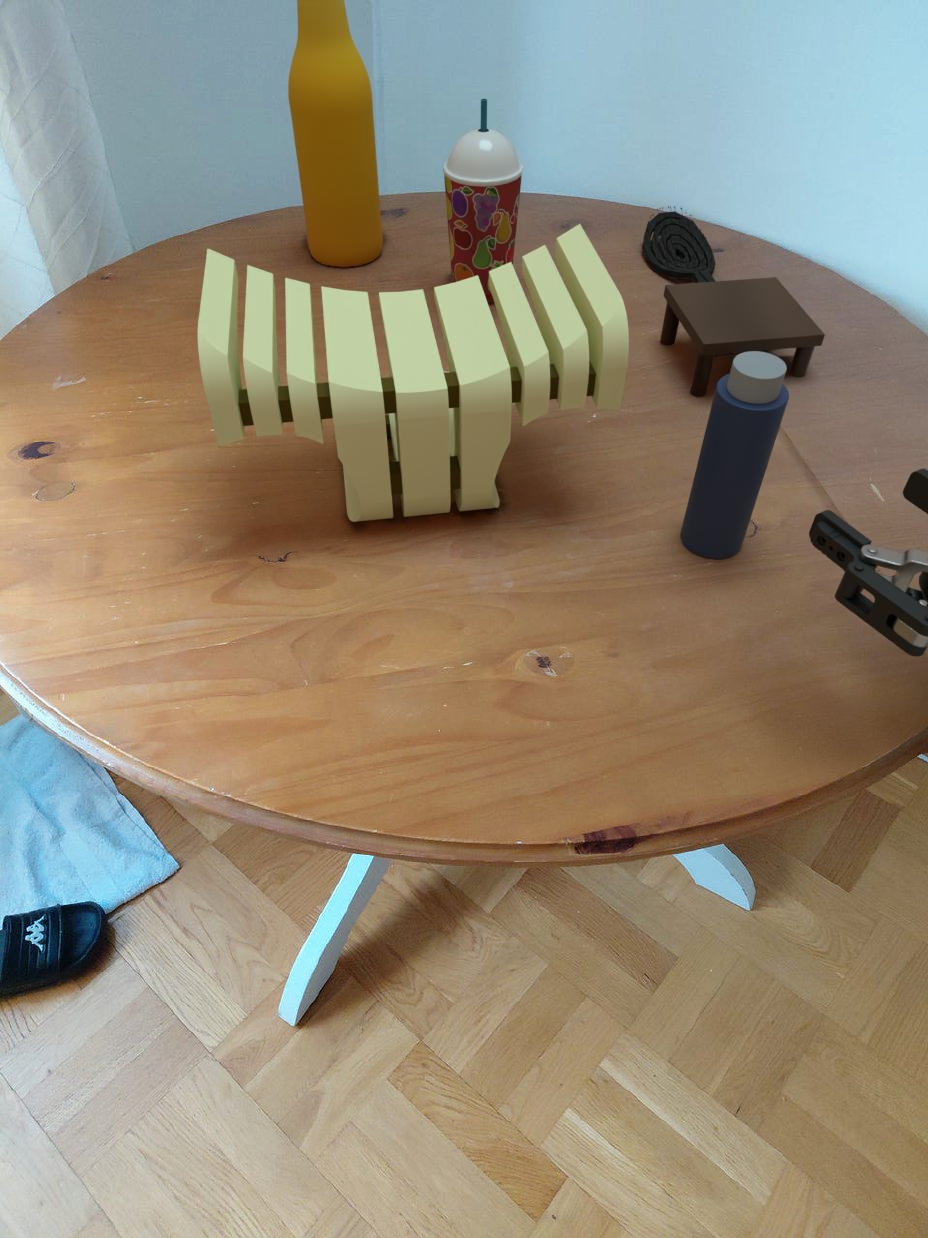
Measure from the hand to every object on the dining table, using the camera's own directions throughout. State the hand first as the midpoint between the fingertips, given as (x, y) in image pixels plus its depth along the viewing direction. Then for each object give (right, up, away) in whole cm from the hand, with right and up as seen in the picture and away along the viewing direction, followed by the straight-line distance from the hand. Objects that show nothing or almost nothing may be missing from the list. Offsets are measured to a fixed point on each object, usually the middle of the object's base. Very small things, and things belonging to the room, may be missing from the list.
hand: (864, 500), depth 55 cm
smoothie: (-24, +30, +45) cm, 59 cm away
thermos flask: (-5, -1, +15) cm, 16 cm away
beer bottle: (-40, +38, +52) cm, 76 cm away
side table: (+2, +19, +34) cm, 39 cm away
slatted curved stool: (-30, +5, +21) cm, 37 cm away
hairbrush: (+1, +32, +46) cm, 57 cm away
